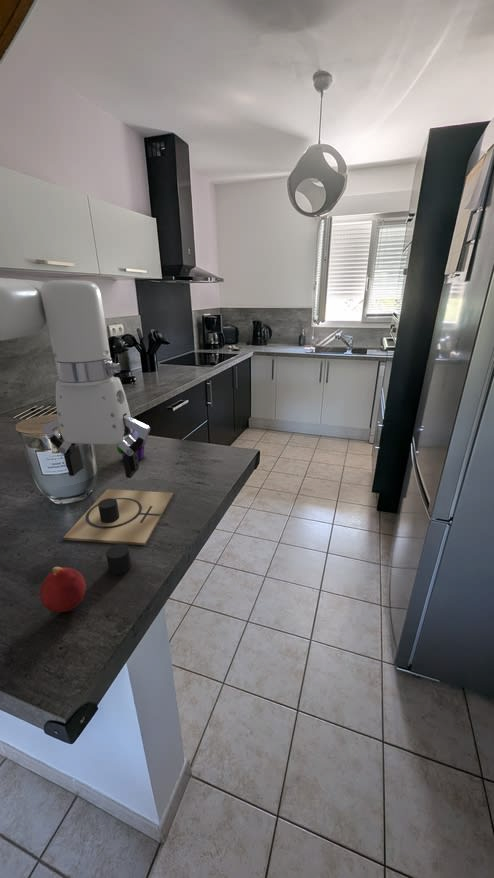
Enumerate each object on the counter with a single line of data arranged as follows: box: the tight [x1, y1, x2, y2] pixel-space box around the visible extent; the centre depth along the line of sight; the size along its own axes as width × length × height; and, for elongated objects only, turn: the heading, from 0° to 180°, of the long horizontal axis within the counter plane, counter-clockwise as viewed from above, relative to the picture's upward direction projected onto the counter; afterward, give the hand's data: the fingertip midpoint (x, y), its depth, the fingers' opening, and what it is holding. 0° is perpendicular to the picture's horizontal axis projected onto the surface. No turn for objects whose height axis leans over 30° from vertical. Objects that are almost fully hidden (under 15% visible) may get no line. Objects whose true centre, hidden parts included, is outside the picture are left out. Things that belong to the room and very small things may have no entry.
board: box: [62, 488, 174, 546], centre depth 75 cm, size 16×18×1 cm
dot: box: [98, 498, 119, 523], centre depth 72 cm, size 4×4×4 cm
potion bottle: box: [116, 430, 147, 462], centre depth 98 cm, size 9×9×12 cm
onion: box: [39, 566, 87, 614], centre depth 51 cm, size 6×6×8 cm
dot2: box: [105, 544, 133, 576], centre depth 60 cm, size 4×4×4 cm
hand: (104, 473), depth 59 cm, fingers open, 9 cm apart
